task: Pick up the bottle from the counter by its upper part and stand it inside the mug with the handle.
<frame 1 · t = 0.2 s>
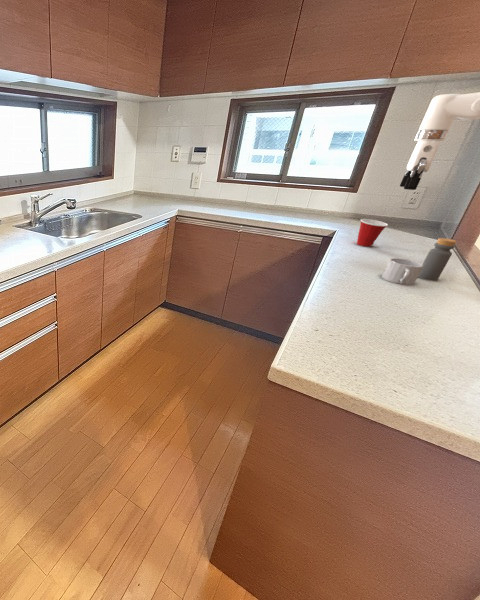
hand: (407, 188, 119), 31 cm above the worktop, tool pointing down, fingers open, 9 cm apart
bottle: (426, 278, 124), on the worktop
plastic cup: (364, 245, 163), on the worktop
mug: (397, 279, 121), on the worktop
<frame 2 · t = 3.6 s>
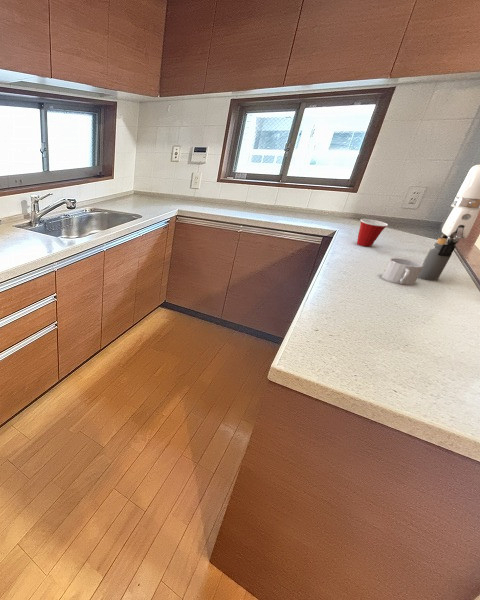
hand: (441, 253, 119), 10 cm above the worktop, tool pointing down, fingers closed on bottle, 5 cm apart
bottle: (426, 278, 124), on the worktop, touching gripper
everything else where it was.
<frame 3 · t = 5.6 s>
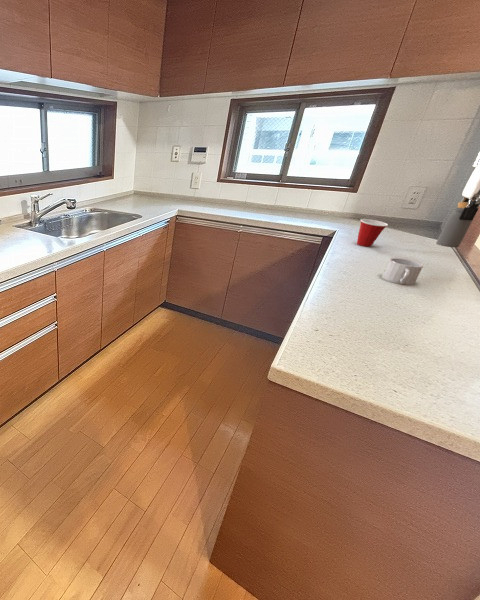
hand: (462, 217, 113), 23 cm above the worktop, tool pointing down, fingers closed on bottle, 5 cm apart
bottle: (446, 245, 118), point 13 cm above the worktop, touching gripper
everything else where it was.
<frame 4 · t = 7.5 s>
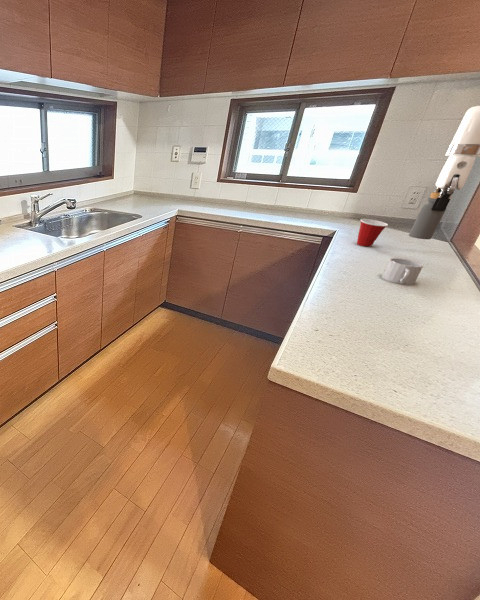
hand: (435, 208, 110), 26 cm above the worktop, tool pointing down, fingers closed on bottle, 5 cm apart
bottle: (419, 237, 114), point 16 cm above the worktop, touching gripper
everything else where it was.
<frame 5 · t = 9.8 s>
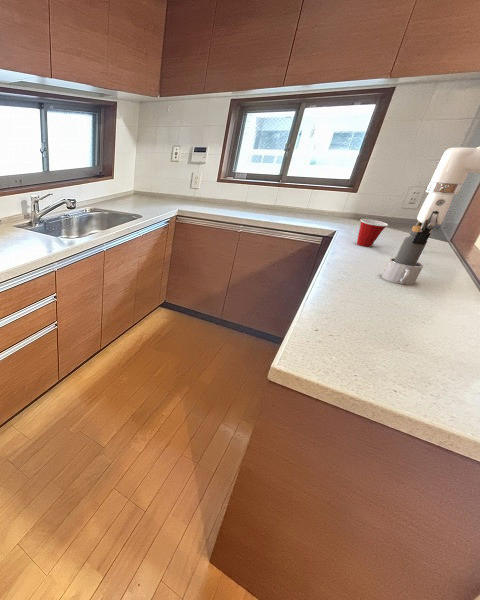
hand: (416, 241, 115), 15 cm above the worktop, tool pointing down, fingers closed on bottle, 5 cm apart
bottle: (402, 267, 119), point 5 cm above the worktop, touching gripper
everything else where it was.
when the fingers open (10 cm above the worktop, at t = 11.5 s): bottle stays where it is, resting on mug.
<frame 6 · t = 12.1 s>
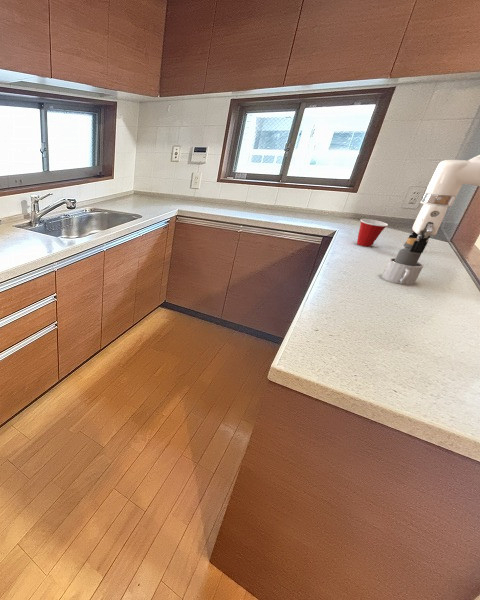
hand: (413, 249, 116), 12 cm above the worktop, tool pointing down, fingers open, 9 cm apart
bottle: (396, 278, 121), resting on mug
everything else where it was.
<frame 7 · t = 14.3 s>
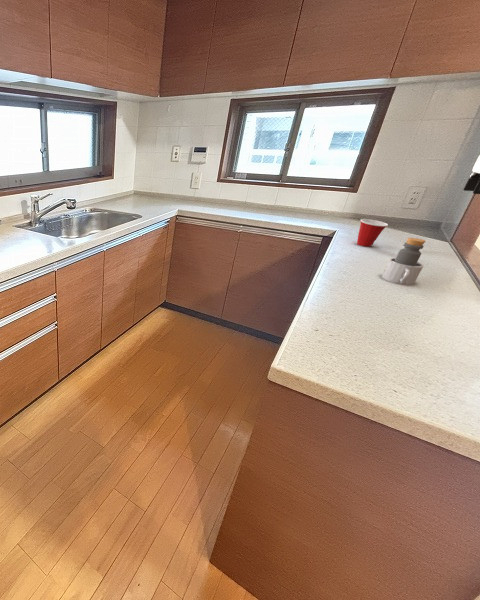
hand: (474, 192, 108), 32 cm above the worktop, tool pointing down, fingers open, 9 cm apart
nothing on the worktop moved.
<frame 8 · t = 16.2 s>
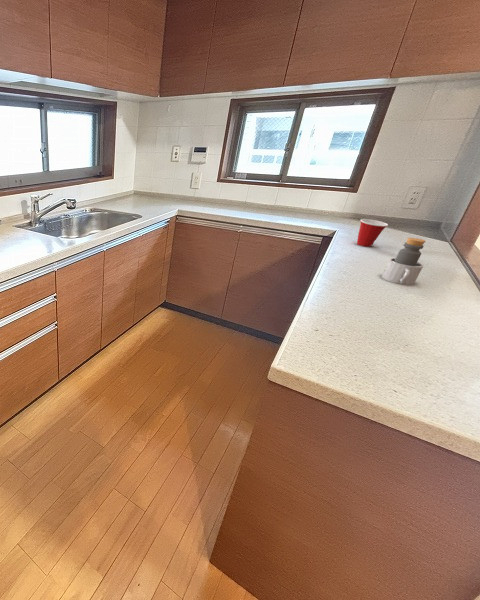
nothing on the worktop moved.
at the end: bottle 0.3 cm off-centre in the mug, point 0.3 cm above the mug's base; bottle tilted 0°; the gripper is holding nothing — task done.
